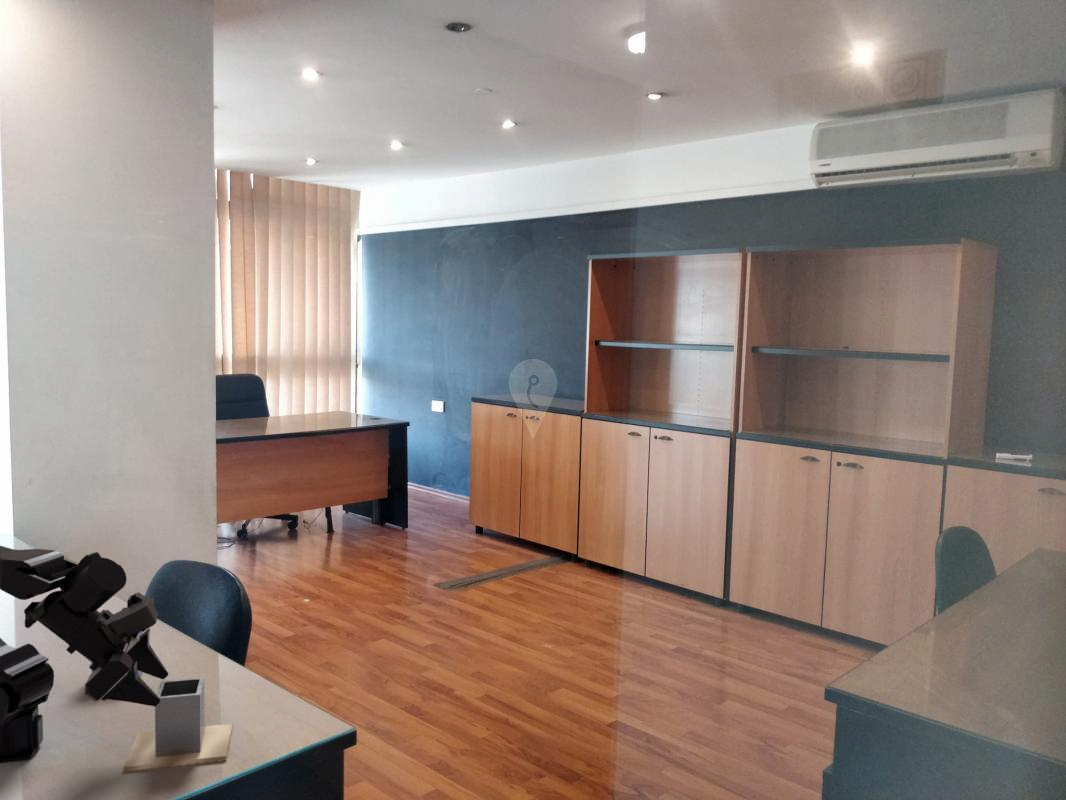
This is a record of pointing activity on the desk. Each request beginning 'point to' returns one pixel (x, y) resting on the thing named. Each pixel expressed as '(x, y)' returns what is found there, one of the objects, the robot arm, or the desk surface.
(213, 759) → the board
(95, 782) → the desk surface
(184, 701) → the grey square storage bin
